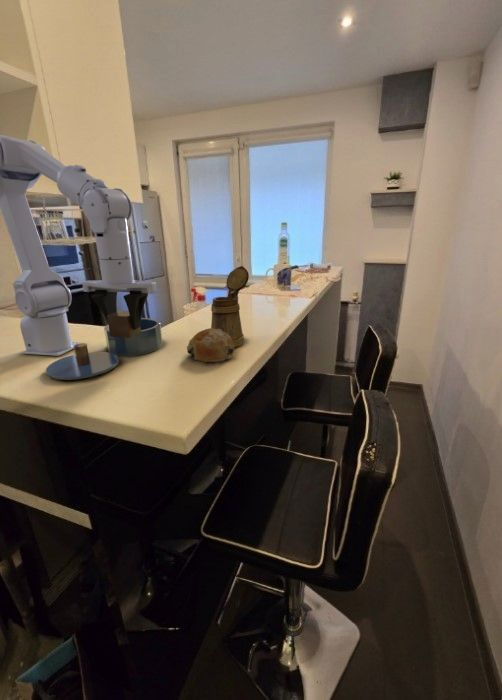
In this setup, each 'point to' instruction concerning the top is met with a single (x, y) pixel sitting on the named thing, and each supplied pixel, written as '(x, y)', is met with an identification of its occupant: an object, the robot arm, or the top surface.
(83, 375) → the bowl lid
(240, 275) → the wooden mug
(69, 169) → the robot arm
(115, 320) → the block
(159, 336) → the bowl
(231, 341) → the bread roll
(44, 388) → the top surface
